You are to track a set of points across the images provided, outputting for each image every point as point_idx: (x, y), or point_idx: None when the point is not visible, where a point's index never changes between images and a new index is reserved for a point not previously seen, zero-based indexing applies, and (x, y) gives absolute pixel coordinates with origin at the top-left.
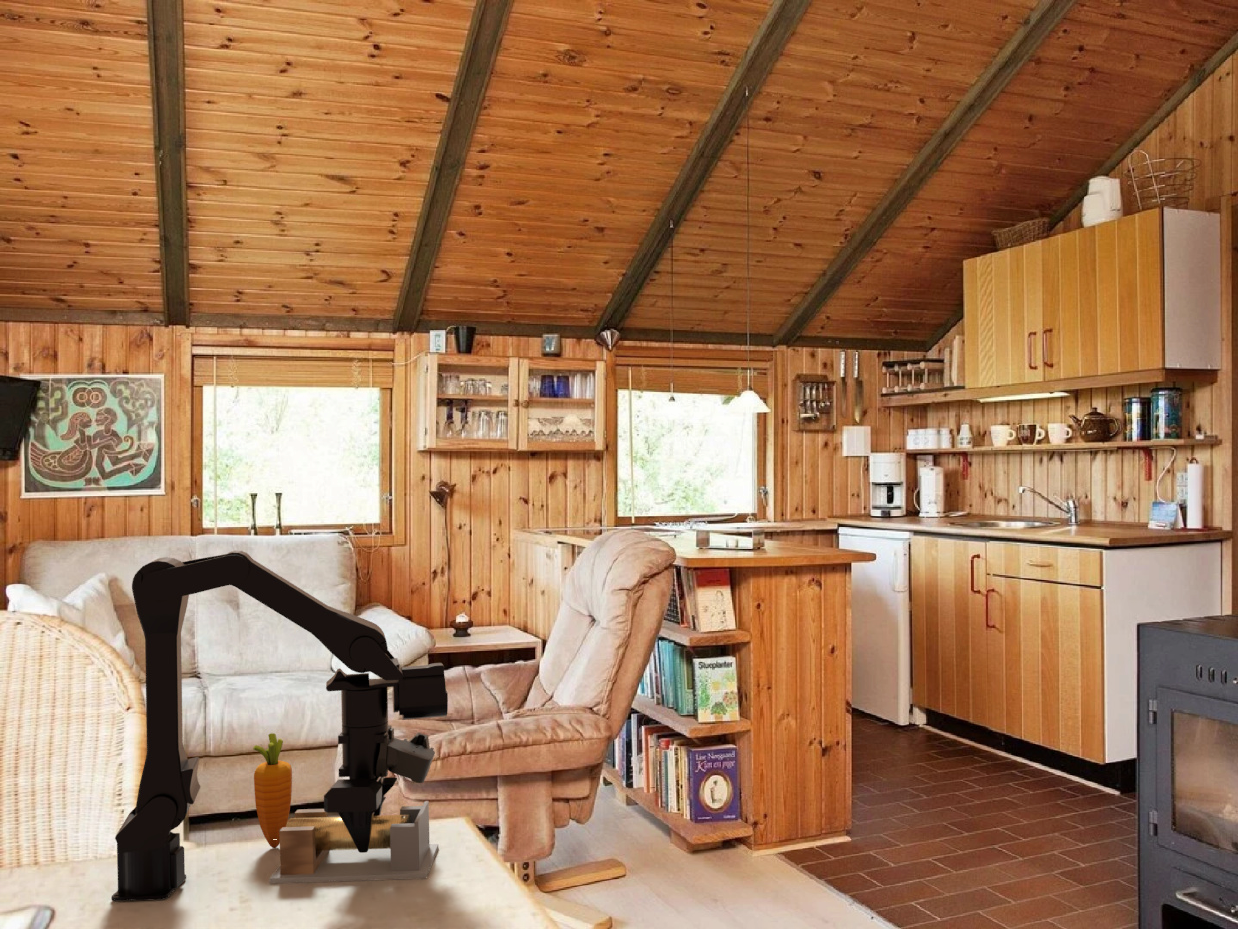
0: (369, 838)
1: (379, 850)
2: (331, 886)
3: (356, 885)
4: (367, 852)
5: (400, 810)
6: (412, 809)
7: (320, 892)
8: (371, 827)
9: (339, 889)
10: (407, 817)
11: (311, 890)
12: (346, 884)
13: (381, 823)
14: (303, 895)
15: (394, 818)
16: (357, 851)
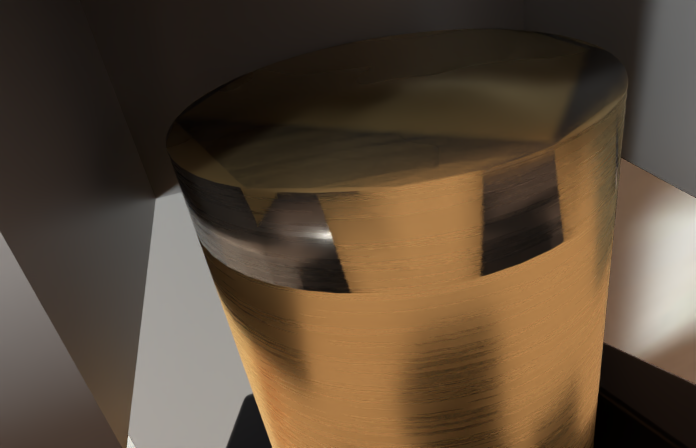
0: (624, 357)
1: (181, 320)
2: (622, 311)
3: (632, 206)
4: (233, 368)
5: (127, 437)
6: (15, 266)
7: (679, 318)
8: (688, 424)
9: (664, 260)
10: (529, 148)
11: (649, 361)
12: (611, 259)
13: (593, 400)
14: (692, 361)
15: (558, 326)
16: (230, 424)
